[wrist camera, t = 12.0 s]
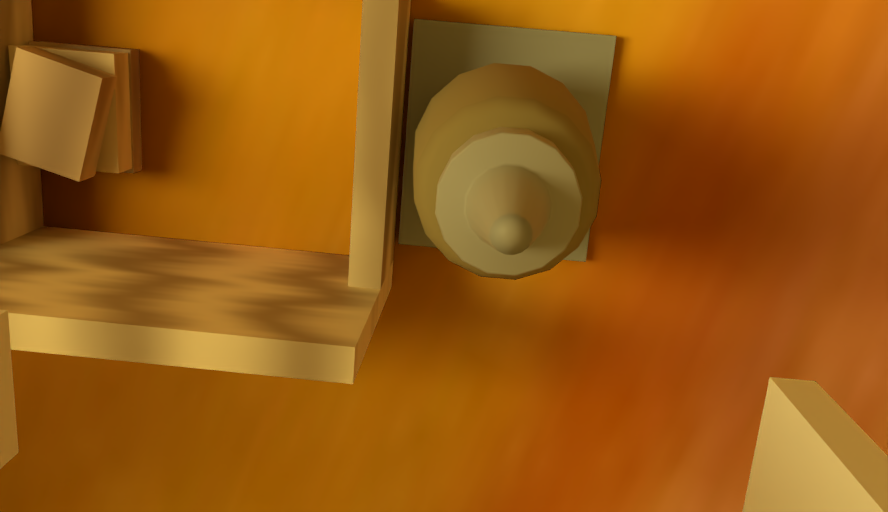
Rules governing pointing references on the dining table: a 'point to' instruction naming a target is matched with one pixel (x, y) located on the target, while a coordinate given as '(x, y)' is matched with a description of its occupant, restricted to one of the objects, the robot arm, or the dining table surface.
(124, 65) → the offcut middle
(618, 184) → the dining table surface
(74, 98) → the offcut top
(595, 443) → the dining table surface
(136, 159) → the offcut bottom
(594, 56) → the mat
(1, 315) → the robot arm
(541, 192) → the squeeze bottle
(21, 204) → the rack
